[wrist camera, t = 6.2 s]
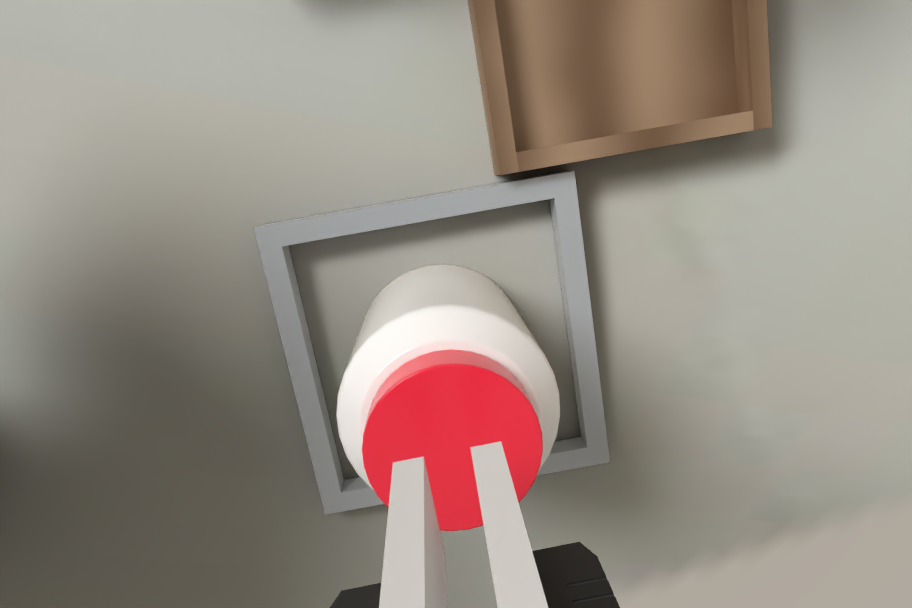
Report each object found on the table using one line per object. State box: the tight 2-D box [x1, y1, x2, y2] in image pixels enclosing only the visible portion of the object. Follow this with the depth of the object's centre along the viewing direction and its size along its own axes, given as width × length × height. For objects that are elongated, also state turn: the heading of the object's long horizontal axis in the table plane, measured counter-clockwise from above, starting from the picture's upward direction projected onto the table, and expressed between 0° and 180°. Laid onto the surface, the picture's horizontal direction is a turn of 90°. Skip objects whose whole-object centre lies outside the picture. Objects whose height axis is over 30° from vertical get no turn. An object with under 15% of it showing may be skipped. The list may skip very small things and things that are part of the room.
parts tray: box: [253, 171, 610, 515], centre depth 28 cm, size 14×14×1 cm
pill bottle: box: [336, 264, 560, 531], centre depth 24 cm, size 8×8×11 cm
